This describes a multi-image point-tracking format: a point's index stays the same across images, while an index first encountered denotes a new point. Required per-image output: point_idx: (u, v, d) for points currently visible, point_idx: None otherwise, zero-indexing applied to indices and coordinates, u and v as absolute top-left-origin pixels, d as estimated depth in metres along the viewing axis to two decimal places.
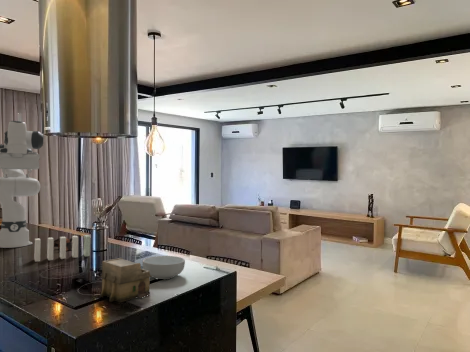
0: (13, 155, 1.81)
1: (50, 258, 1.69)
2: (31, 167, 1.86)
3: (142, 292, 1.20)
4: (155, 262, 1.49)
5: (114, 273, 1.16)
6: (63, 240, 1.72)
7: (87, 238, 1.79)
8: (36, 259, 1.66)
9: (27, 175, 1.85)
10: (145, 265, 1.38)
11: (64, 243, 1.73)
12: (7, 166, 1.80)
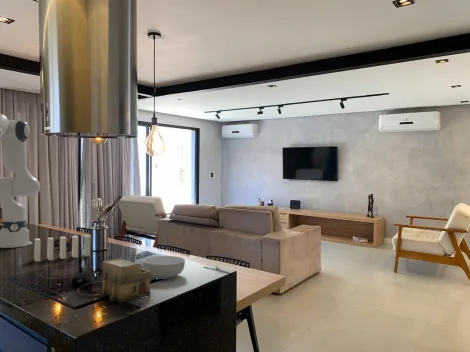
0: None
1: (50, 258, 1.69)
2: None
3: (142, 292, 1.20)
4: (155, 262, 1.49)
5: (114, 273, 1.16)
6: (63, 240, 1.72)
7: (87, 238, 1.79)
8: (36, 259, 1.66)
9: None
10: (145, 265, 1.38)
11: (64, 243, 1.73)
12: None
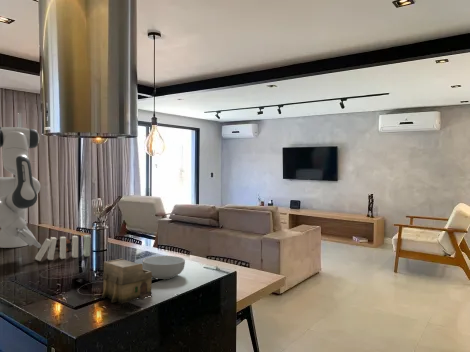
0: None
1: (50, 257, 1.69)
2: None
3: (144, 293, 1.20)
4: (155, 262, 1.49)
5: (116, 274, 1.15)
6: (63, 240, 1.72)
7: (87, 238, 1.79)
8: (38, 258, 1.66)
9: (36, 246, 1.68)
10: (145, 265, 1.38)
11: (64, 243, 1.73)
12: None
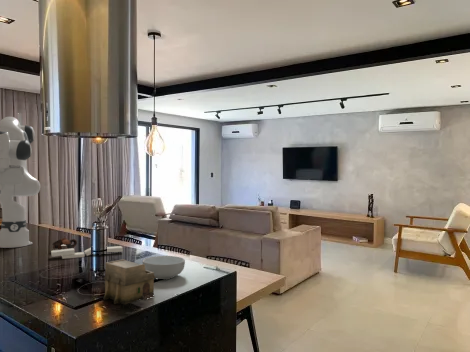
0: None
1: (64, 257, 1.73)
2: (14, 182, 1.71)
3: (146, 294, 1.19)
4: (155, 262, 1.49)
5: (118, 275, 1.14)
6: None
7: None
8: (54, 253, 1.71)
9: None
10: (145, 265, 1.38)
11: None
12: None
